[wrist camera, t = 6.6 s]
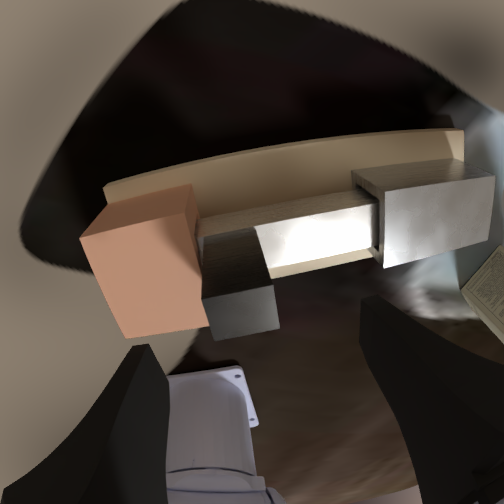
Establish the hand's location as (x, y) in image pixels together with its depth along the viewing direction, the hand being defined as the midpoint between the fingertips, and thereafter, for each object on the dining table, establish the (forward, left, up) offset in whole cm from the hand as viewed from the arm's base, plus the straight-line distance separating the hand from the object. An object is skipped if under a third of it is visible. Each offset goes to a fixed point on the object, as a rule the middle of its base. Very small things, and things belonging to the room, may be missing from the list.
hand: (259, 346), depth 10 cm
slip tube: (0, -2, -9) cm, 9 cm away
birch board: (0, -5, -10) cm, 11 cm away
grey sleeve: (0, -11, -10) cm, 15 cm away
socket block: (0, +4, -9) cm, 10 cm away
